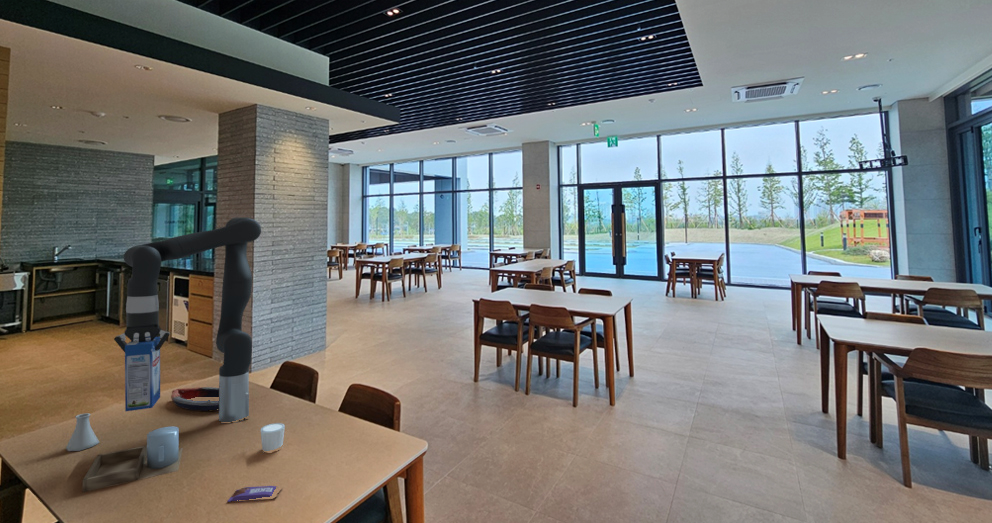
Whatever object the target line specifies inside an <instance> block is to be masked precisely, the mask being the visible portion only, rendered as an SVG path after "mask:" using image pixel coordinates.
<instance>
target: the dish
mask: <svg viewBox="0 0 992 523" xmlns="http://www.w3.org/2000/svg"><path fill="white" fill-rule="evenodd" d="M195 397H219V387H213V386H211V387H210V386H208V387H207V386H202V387H200V386H198V387H185V388H176V389H173V390H172V391H171V395H170V399H171V400H172V402H173V404H174V405H175V406H177V407H179V408H183V409H186V410H190V411H197V410H201V411H200V412H209V411H208V410H215V411H218V410H217V409H219V401H210V400H208V401H193V400H187V399H191V398H195Z"/></svg>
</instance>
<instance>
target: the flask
mask: <svg viewBox="0 0 992 523" xmlns="http://www.w3.org/2000/svg"><path fill="white" fill-rule="evenodd" d="M74 417H75V419H76V424H75V427H74V431H73V432H72V434H71V437H70V439H69V441H68V443H67V445H66V446H65V450H67V451H68V452H80V451H84V450H86V449H90V448H92V447H94V446H96V445H98V444H99V443H100V440H99V439H98V437H97V436H96V433H95V432H94V430H93V428H92V426H91V423H90V417H91V413H89V412H88V413H87V412H86V413H80V414H77V415H76V416H74Z"/></svg>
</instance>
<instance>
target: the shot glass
mask: <svg viewBox="0 0 992 523" xmlns="http://www.w3.org/2000/svg"><path fill="white" fill-rule="evenodd" d="M285 427H286V425H285V424H284V423H281V422H274V423H269V424H266V425H264V426H262V427H261V428H260V438H261V447H262V449H261V450H264V451H270V450H274V449H277V448H279V447H281V446H282V445H283V446H284V444H283V443H284V435H285V429H286V428H285Z"/></svg>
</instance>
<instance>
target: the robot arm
mask: <svg viewBox="0 0 992 523" xmlns="http://www.w3.org/2000/svg"><path fill="white" fill-rule="evenodd" d="M261 233H262V227H261V224H260V223H259V222H258V221H257V220H255V219H254V218H250V217H233V218H230V219H229V220H228V221H227V222H226V223H225V226H223V227H220V228H216V229H215V228H214V229H210V230H203V231H198V232H197V231H196V232H193V233H192V232H191V233H186V234H183V235H179V236H174V237H171V238H167V239H165V240H164V239H163V240H160V241H155V242H148V243H144V244H143V243H142V244H138V245H134V246H131V247H130V248H128V249H126V251H125V252H124V254H123V261H124V262H125V264H126V265H128V267H129V266H130V267H132V268H131V269H132V272H131V277H130V278H129V279H128V280H127V285H126V287H127V298H126V307H125V311H126V312H125V313H126V328H125V330H124V332H123V333H121V334H120V335H119V334H118V335H116V336H114V338H113V340H114V341H115V343H116V344H117V345H118V346H119V347H120V349H121V350H122V352H123V353H125V345H126V344H128V342H126V340H127V338H128V339H129V340H130V342H131V341H132V342H133V343H137V342H144V341H146V342H149V341H152V340H153V339H154V338H155V337H158V335H159V337H160V342H159V343H158V345H157V346H156V347H155V350H156V351H158V350H159V349H160V350H161V348H162V346H163V345H164V344H165V343H166V340H167V339H168V338H169V336H170V334H171V332H170V331H165V330H162V328H161V327H160V316H159V315H160V312H159V310H160V309H159V307H160V305H159V302H160V301H159V296H158V280H159V276H160V271H161V267H162V262H165V261H166V262H167V261H174V260H179V259H183V258H187V257H189V256H194V255H197V254H200V253H203V252H206V251H210V250H213V249H215V248H220V247H224V248H225V249H224V251H225V252H224V255H225V257H224V265H223V266H224V267H223V276H222V278H223V279H222V288H221V303H220V304H221V307H220V316H219V317H220V318H219V323H218V330H217V334H216V337H215V338H216V339H215V346H216V348H217V350H218V351H219V352H220V353H222V354H223V364H222V365H221V366H220V367H219V370H218V371H219V372H218V376H219V377H218V382H219V383H218V388H219V410H218V422H219V421H221V422H232V421H236V420H239V419H242V418H244V417H247V416H249V415H250V391H249V389H250V388H249V387H250V386H249V385H250V384H249V383H250V382H249V380H250V379H249V378H250V374H249V373H250V372H249V371H250V367H251V366H250V365H252V356H253V355H252V354H253V353H252V352H253V340H252V336H251V335H250V334H249V333H247V332H245V331H243V328H242V327H243V326H242V323H243V316H244V312H245V310H246V308H247V305H248V303H249V301H250V299H251V296H252V289H253V288H252V287H253V275H252V271H251V267H250V264H249V261H248V257H247V253H248V252H247V250H248V243H252V242H254V241H256V240H257V239H259V237H260V236H261ZM249 417H250V416H249Z"/></svg>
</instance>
